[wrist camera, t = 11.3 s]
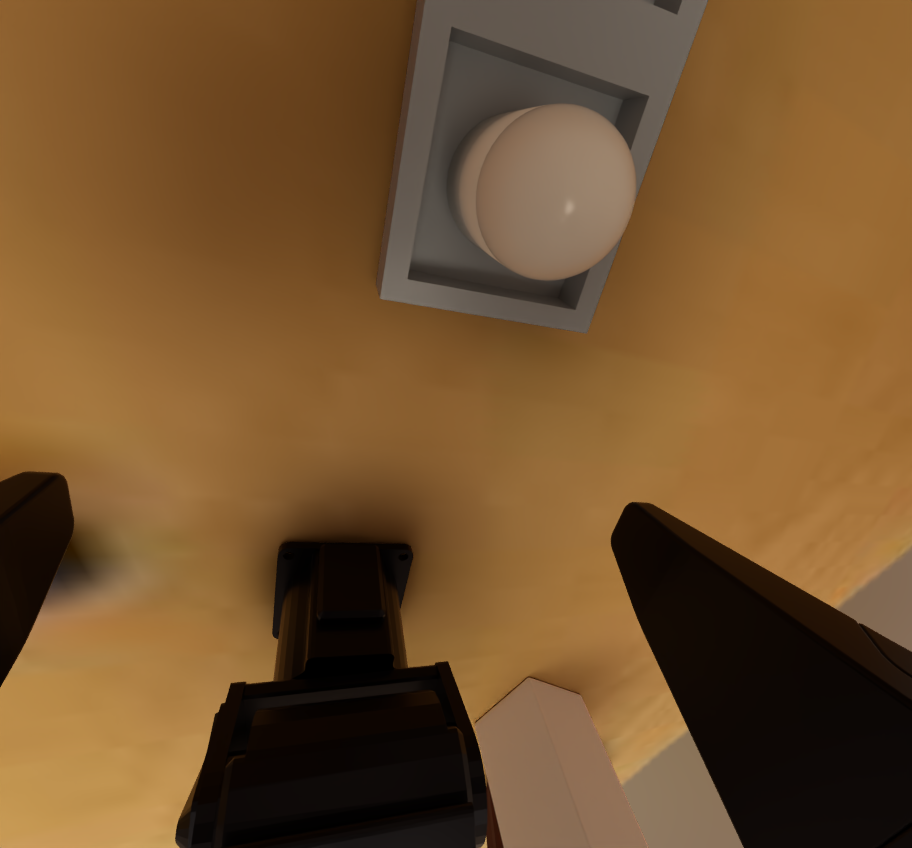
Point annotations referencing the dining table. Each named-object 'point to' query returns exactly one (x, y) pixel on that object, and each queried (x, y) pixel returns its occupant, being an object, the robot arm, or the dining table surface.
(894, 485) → the dining table surface
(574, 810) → the milk
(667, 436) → the dining table surface
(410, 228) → the grey flat rectangular tray
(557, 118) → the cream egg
